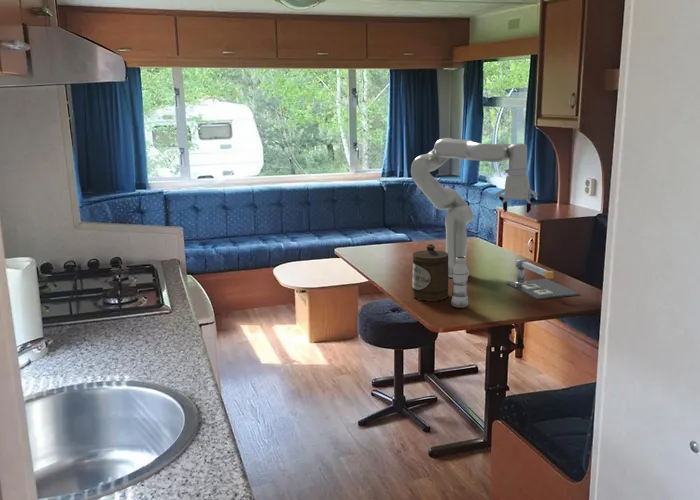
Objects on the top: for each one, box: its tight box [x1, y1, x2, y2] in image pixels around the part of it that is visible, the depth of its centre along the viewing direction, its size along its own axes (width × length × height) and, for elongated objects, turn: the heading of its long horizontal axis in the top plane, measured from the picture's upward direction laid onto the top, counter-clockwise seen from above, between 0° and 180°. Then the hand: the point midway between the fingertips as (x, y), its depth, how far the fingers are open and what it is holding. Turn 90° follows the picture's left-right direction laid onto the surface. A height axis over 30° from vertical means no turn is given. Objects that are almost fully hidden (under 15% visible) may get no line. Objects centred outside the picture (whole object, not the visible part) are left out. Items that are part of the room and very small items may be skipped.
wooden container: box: [411, 243, 449, 302], centre depth 263 cm, size 15×15×22 cm
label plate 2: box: [533, 289, 553, 295], centre depth 265 cm, size 6×5×1 cm
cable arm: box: [515, 258, 555, 280], centre depth 269 cm, size 24×4×3 cm, turn 17°
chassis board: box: [506, 278, 581, 300], centre depth 273 cm, size 20×24×1 cm
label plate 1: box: [522, 284, 541, 289], centre depth 273 cm, size 6×5×1 cm
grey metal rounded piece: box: [512, 267, 528, 285], centre depth 279 cm, size 6×6×7 cm
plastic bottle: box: [450, 256, 470, 309], centre depth 248 cm, size 6×7×20 cm
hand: (516, 211), depth 279 cm, fingers open, 9 cm apart
